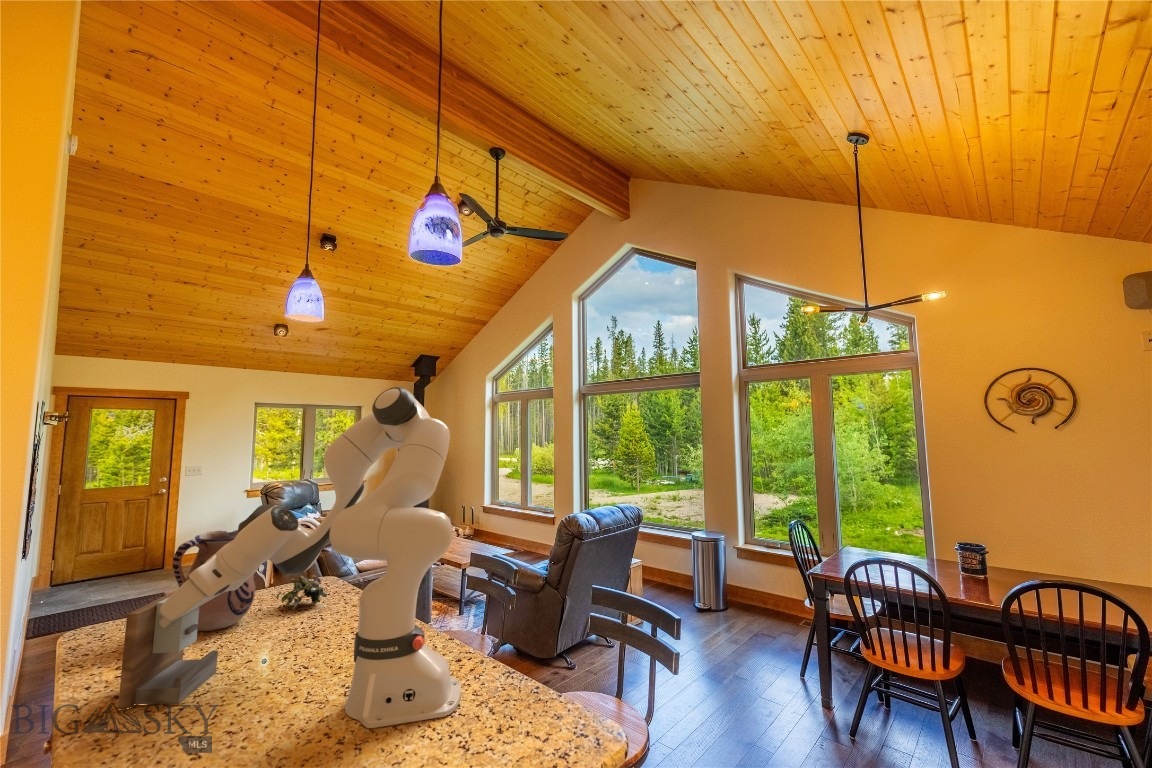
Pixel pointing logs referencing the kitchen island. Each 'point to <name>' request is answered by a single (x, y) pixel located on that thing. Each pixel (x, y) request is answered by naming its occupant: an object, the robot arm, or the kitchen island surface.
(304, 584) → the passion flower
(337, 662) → the kitchen island surface
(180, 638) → the grey box with notch
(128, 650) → the wall board
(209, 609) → the ceramic pitcher
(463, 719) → the kitchen island surface
